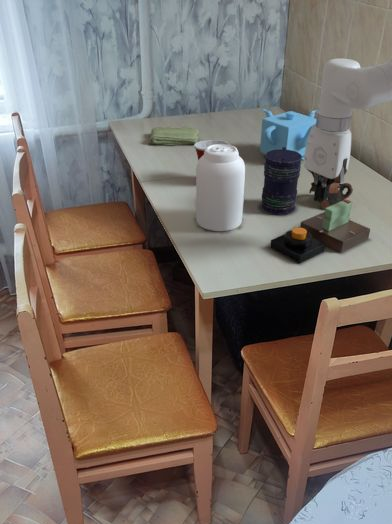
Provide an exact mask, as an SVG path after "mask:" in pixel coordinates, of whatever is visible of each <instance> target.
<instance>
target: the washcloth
mask: <svg viewBox="0 0 392 524" xmlns="http://www.w3.org/2000/svg"><path fill="white" fill-rule="evenodd" d="M150 133H151V135H150V137H149V143H150V144H152V145H159V146H160V145H162V146H163V145H164V146H189V145H190V146H191V145H194V144H195V143H197V142H199V141H198V140H199V137H200V135H199V128H197V127H191V126H190V127H189V126H179V127H178V126H174V127H173V126H172V127H171V126H156V127H153V128H151V132H150Z"/></svg>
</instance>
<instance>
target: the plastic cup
mask: <svg viewBox="0 0 392 524" xmlns="http://www.w3.org/2000/svg"><path fill="white" fill-rule="evenodd" d="M215 144H227V145H231V143H230V142H228V141H225V140H220V139H209V140H208V139H205V140H200V141H197V143H195V144H193V148H194V149H195V152H196V156H197V162H198V161H199V159H200V158H201V157H202V156H203V155H204V151H205V149H206V147H208V146H210V145H215Z"/></svg>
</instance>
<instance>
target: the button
mask: <svg viewBox="0 0 392 524" xmlns="http://www.w3.org/2000/svg"><path fill="white" fill-rule="evenodd" d="M291 230H292V235H291V237H292V238H294V239H298V240H303V239H305V238H306V234H307V230H306V229H304V228H300V226H298V227H297V226H296V227H294V228H292V229H291Z"/></svg>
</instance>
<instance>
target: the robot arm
mask: <svg viewBox="0 0 392 524" xmlns="http://www.w3.org/2000/svg"><path fill="white" fill-rule="evenodd" d="M319 93H320V94H319V100H318V106H317V110H318V111H316V112H315V114H314V118H315V119H317V120H316V124H314V125H313V126H312V129H311V131H310V134H309V138H308V141H307V145H306V150H305V155H304V159H303V166H304V168H305V169H306V170H307V171H308V172H309V173H310V174H311V175H312V177H313V182H314V183H315V184H316V186H315V192H313V193H314V195H313V201H315V202H317V203H321V202H322V201H325V200H328V194H329V188H330V185H332V184H333V183H339V184H343V183H345V175H346V174H347V173H348V169H349V165H350V158H351V150H352V130H350V129H351V124H352V119H353V113H354V110H366V109H370V108H373V107H376V106H378V105H379V106H380V105H383V104H386V103H390V102H392V58H390V59H388V60H387V61H386V62H382V63H378V64H373V65H369V66H366V67H364V66H363V67H361V64H360V63H359V62H358V61H356V60H354V59H351V58H338V57H337V58H332V59H330V60H328V61H327V62H326V63H325V65H324V68H323V73H322V79H321V87H320V92H319Z"/></svg>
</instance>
